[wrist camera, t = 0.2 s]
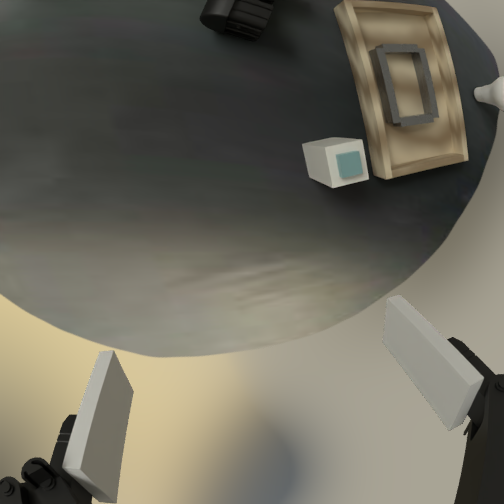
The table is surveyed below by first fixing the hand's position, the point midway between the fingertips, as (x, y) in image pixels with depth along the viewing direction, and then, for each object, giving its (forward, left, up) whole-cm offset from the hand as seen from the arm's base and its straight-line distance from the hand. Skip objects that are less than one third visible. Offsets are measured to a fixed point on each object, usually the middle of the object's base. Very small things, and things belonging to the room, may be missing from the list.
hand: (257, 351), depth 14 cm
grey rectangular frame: (-11, +28, -27) cm, 41 cm away
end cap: (-25, +9, -28) cm, 39 cm away
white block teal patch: (-3, +14, -27) cm, 31 cm away
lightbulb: (-9, +45, -28) cm, 53 cm away
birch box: (-11, +29, -27) cm, 41 cm away
